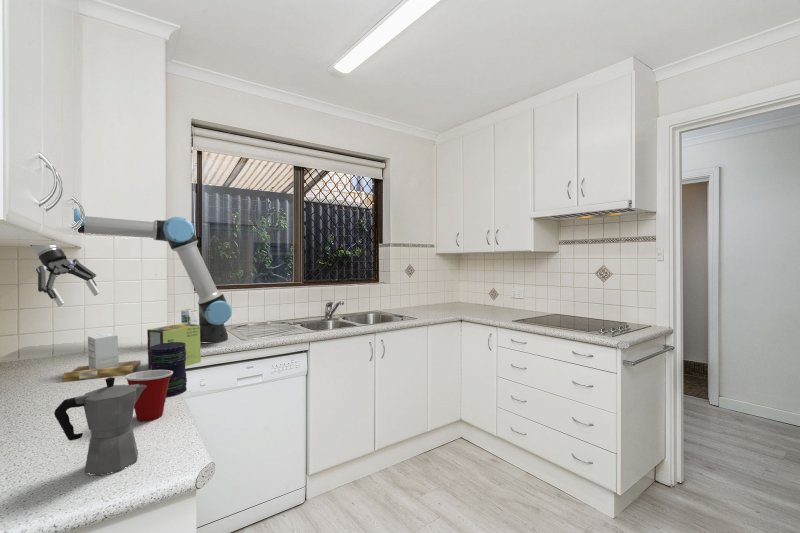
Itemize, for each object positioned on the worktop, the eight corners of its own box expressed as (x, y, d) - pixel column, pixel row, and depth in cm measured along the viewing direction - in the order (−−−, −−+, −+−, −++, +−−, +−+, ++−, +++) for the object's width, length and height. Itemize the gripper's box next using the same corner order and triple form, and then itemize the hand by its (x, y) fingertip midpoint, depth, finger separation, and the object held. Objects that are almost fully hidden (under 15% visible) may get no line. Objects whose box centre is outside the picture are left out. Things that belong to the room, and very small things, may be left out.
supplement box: (111, 365, 149) (110, 332, 148) (119, 368, 144) (118, 334, 144) (88, 369, 143) (87, 336, 142) (95, 373, 138) (94, 338, 138)
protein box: (201, 362, 157) (200, 324, 157) (163, 372, 144) (162, 331, 143) (185, 359, 162) (184, 322, 162) (147, 368, 149) (146, 329, 148)
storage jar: (187, 393, 120) (186, 346, 120) (150, 400, 115) (149, 350, 115) (186, 385, 129) (185, 340, 128) (151, 390, 124) (150, 344, 123)
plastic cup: (183, 411, 107) (182, 368, 106) (147, 427, 96) (146, 380, 96) (153, 407, 110) (152, 365, 109) (115, 422, 99) (114, 377, 99)
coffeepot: (139, 444, 88) (137, 366, 87) (157, 457, 82) (155, 373, 82) (50, 476, 75) (47, 385, 75) (64, 493, 70) (61, 394, 69)
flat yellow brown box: (140, 364, 155) (140, 356, 155) (132, 374, 141) (132, 366, 141) (78, 370, 147) (78, 362, 147) (63, 382, 133) (62, 373, 133)
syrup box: (180, 335, 212) (180, 309, 212) (189, 333, 218) (189, 308, 217) (189, 336, 210) (188, 310, 210) (197, 334, 216) (197, 308, 216)
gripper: (77, 251, 163) (105, 294, 165) (6, 264, 139) (39, 314, 141) (87, 243, 161) (115, 286, 162) (16, 254, 137) (50, 305, 139)
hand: (80, 299), depth 152 cm, fingers open, 13 cm apart
